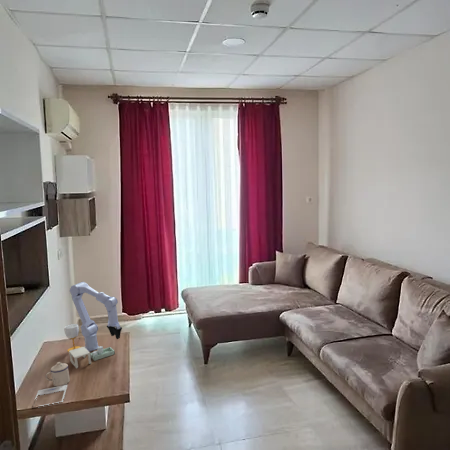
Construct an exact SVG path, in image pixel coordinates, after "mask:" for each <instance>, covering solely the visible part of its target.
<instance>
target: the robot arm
mask: <svg viewBox="0 0 450 450" xmlns="http://www.w3.org/2000/svg"><path fill="white" fill-rule="evenodd" d="M69 292H70V294H71V300H72V303H73V304H74V306H75V307H74V308H75V310H76V311H77V313H78V316H79V319H80V321H81V326H80V329H81V335H82V336H83V338H84V347H85V348H86V349H87V350H88V351H89V352H90V353H91V352H92V351H93V352H94V351H97V347H100V346H99V344H98V337H97V334H98V331H99V326H98V324H97V323H96V322H95V320H93V319H92V318H90V315H89V312H88V310H87V308H86V305H85V303H84V300H83V298H82V297H83V295H84V294H85V293H86V294H88V295H90V296H92V297H94V298H95V300H96V301H97V302H99V303H101V304H103V306H104V307H105V309H106V311H107V317H108V318H107V319H108V320H107V325H106V328H107V329H108V331H109V333H110V336H111V337H114V336H115V339H116V340H118V339H119V340H120V339H121V333H122V329H123V327H122V326H121V325H120V322H119V318H118V309H117V305H118V299H117V298H116V297H115V296H110V295H107V294H106V293H105V292H104V291H100V292H99V291H98V290H95V288H93V287H91V286H89V284H88V283H87V282H85V281H81V282H78V283H76V284H72V285H71V286H70V288H69Z"/></svg>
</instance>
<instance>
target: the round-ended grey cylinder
mask: <svg viewBox="0 0 450 450" xmlns="http://www.w3.org/2000/svg"><path fill="white" fill-rule="evenodd" d="M103 349H104V347H103V345H102V346H101V345H100V346H99V347H97V349H96V351H98V355H101V354H104V352H103Z"/></svg>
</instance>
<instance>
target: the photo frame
mask: <svg viewBox="0 0 450 450" xmlns="http://www.w3.org/2000/svg"><path fill="white" fill-rule="evenodd" d="M67 389H68V384H65V385H63V386H53V387H49V388H43V389H38V390H37V392H36V395H35V397H34V400H35V399H36V398H37V399H38V397H39V396H38V395H40V396H44V394H45V395H50V394H54V392H55V393H60V392H63V395H62V398H61V401H57V402H52V404H53V405H55V404H54V403H58V404H60V403H59V402H64V400H65V396H66V391H67ZM59 391H60V392H59ZM37 396H38V397H37ZM37 399H36V400H37ZM63 399H64V400H63ZM49 404H50V403H45V404H41V405H39V406H43V407H45V406H44V405H48V406H50V405H49Z"/></svg>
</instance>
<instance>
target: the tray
mask: <svg viewBox="0 0 450 450" xmlns="http://www.w3.org/2000/svg"><path fill="white" fill-rule="evenodd" d="M103 352H104V354H101V355H98V350H93V352H92V351H91V352H90V356H91V360H93V361H98V360H101V359H104V358H107V357H111V356H112V355H115V354H116V353H115V349H113V347H111V346H109V347H108V346H107V347H106V348H103Z"/></svg>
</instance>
